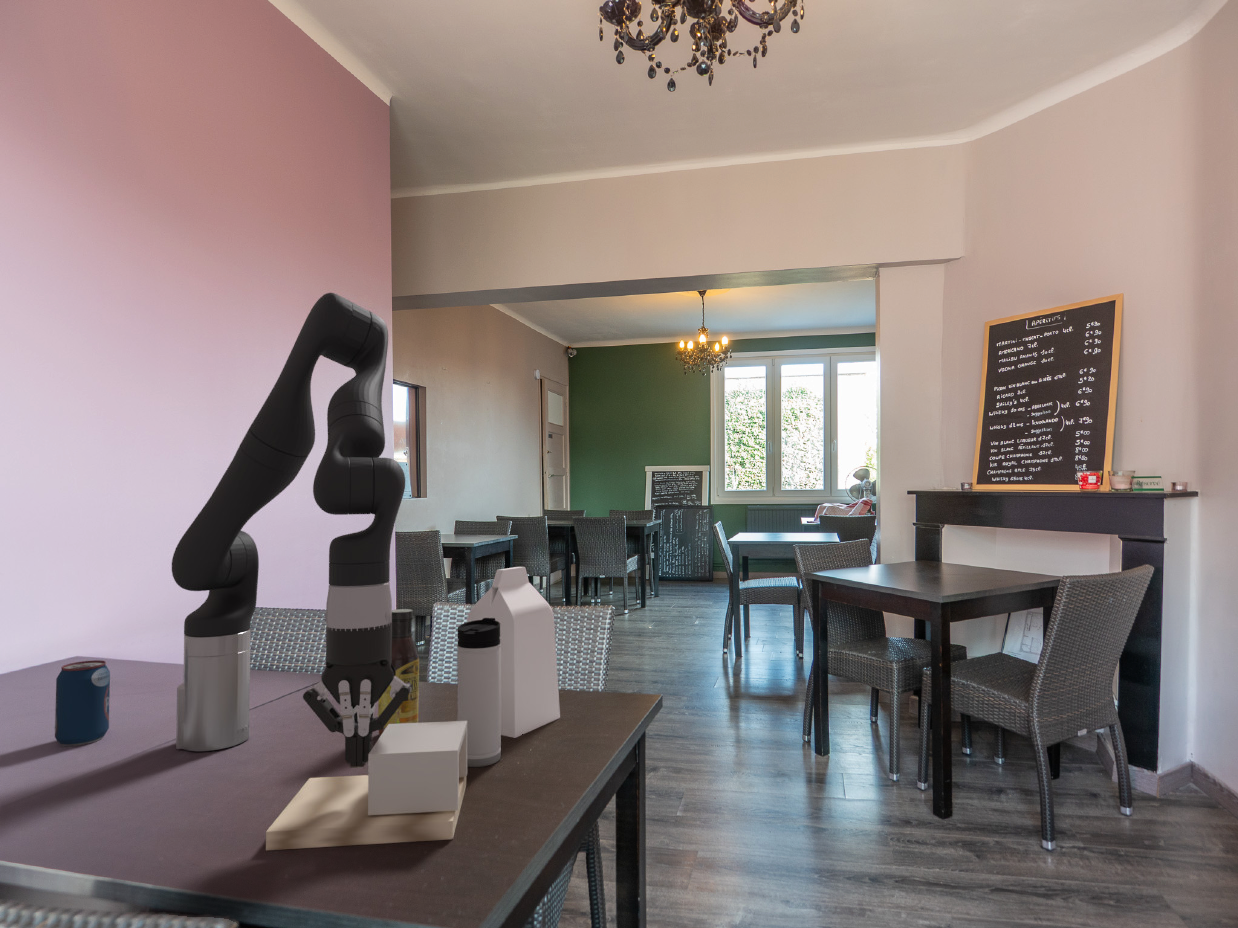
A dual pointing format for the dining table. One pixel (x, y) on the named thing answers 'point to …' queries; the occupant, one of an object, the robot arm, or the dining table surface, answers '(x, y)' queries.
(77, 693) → the soda can
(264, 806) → the dining table surface
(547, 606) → the milk
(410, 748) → the cover
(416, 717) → the sauce bottle
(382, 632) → the robot arm
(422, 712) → the dining table surface
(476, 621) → the travel mug
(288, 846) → the board
